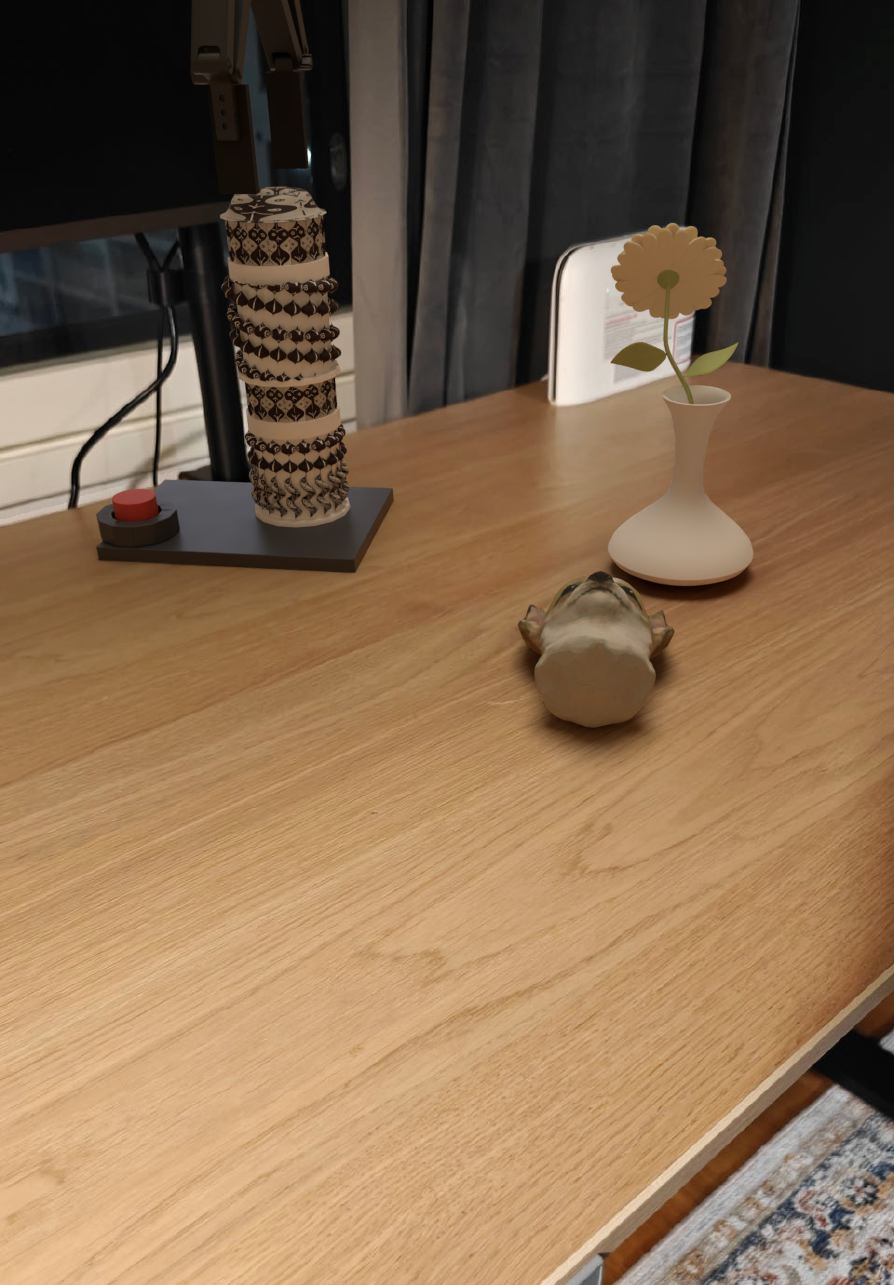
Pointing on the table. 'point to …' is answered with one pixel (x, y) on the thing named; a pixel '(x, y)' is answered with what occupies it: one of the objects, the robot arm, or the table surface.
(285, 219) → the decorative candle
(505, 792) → the table surface
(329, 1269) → the table surface
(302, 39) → the robot arm
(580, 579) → the ceramic sculpture
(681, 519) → the flower in vase
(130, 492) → the button
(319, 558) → the dark grey base plate
